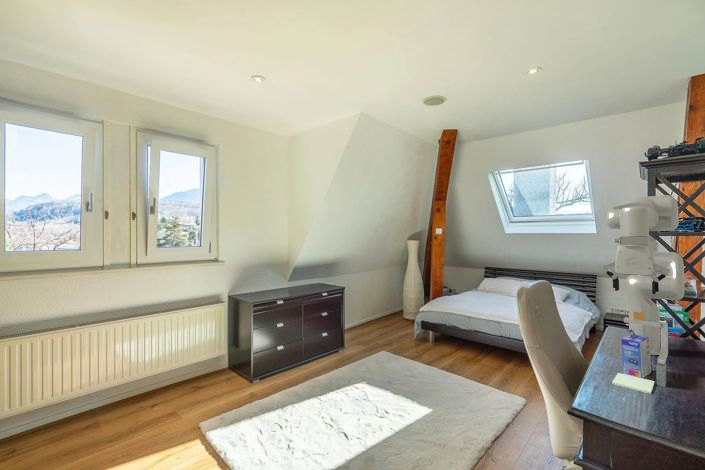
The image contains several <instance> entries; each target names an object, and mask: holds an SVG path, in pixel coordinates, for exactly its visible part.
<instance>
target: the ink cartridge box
mask: <svg viewBox="0 0 705 470" xmlns="http://www.w3.org/2000/svg"><path fill="white" fill-rule="evenodd" d="M627 332H628V335H626V336H625V337H622V338H621V339H620V341H621V356H622V358H621V359H622V370H623V371H622V372H623V373H622V374H626V375H630V376H634V377H638V378H643V379H645V378H646V377H647V376H648V375H649V374H651V372H652V366H651V365H652V364H651V355H650V342H649V337H645V336H639V335H635V333H634V332H633V330H632V329H631V330H629V329H628V330H627ZM631 332H633V334H631ZM629 334H630V335H629Z"/></svg>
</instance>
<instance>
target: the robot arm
mask: <svg viewBox="0 0 705 470" xmlns="http://www.w3.org/2000/svg"><path fill="white" fill-rule="evenodd" d="M605 222H606V225H607V227H609V228H610V229H612V230H619V238H615V239H614V243H616V244H619V245H617V246H616V252H615V256H614V257H615V258H614V260H615V261H614V262H611V263H609V264H606V265H604V266H603V267H602V268H603V270H604V271H605V273H606V275H608V276H609V278H611V279H612V288H613V289H614V291H615V292H617V291H620V279H619V277H620V276H622V275H624V276H627V277H626V279H625V289H626V292H627V293H626V294H627V299H628V318H634V314H633V312H642V313H644V315H645V320H650V321H657V322H661V319H660V316H661V314H660V312H661V311H660V308H659V306H658V305H657V304H656V303H655V302H654V301H652V299H656V300H657V299H659V300H670V301H679V300H681V299H683V298H684V296H685V287H686V286H685V269H684V268H685V265H684V260H683V257H682V255H681V254H679V253H677V252H674V251H659V242H658V241H657V240H656V239H655V238H654V237H653V236H651V235H650V232H664V231H665V232H669V231H674V230H676V229H677V228H678V227H679V223H680V215H679V205H678V201H677V199H676V198H675V197H674V196H672V195H669V194H668V195H667V194H665V195H652V196H651V195H650V196H640V197H636V198H634V199H632V200H631V201H630V202H628V203H627V202H626V203H624V204H619V205H615V206H613V207H610V208H609V210H608V211H607V213H606V217H605ZM613 267H614V272H615V273H613V272H612V271H611V270H610V269H611V268H613ZM631 329H632V330H633V332H634V333H635V335H639V336H645V337H649V342H650V356H655V355H659V354H660V351H661V327H654V326H647V325H640V324H633V323H628V330H631ZM633 332H631V334H633ZM628 335H630V334H629V333H628Z"/></svg>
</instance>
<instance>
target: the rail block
mask: <svg viewBox="0 0 705 470" xmlns="http://www.w3.org/2000/svg"><path fill="white" fill-rule="evenodd" d="M655 366H656V367H655V369H656V370H655V373H656V375H655V376H656V378H655V379H656V381H655V383H656V386H659V387H666V386H667V364H666V363H665V364H660V363H658V361H657V362H656V365H655Z"/></svg>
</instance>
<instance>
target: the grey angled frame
mask: <svg viewBox="0 0 705 470" xmlns="http://www.w3.org/2000/svg"><path fill="white" fill-rule="evenodd" d="M633 314H634V318H629V316H628V317H624V318H623V323H628V324H629V323H633V324H640V325H647V326H654V327H660V348H661V351H660V354H659V356H657V362H658V363H660V364H666V361H667V358H668V355H669V336H668V335H669V332H668V330H669V327H668V322H664V321H663V322H662V321H660V322H657V321H650V320H645V315H644V313H642V312H633Z"/></svg>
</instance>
